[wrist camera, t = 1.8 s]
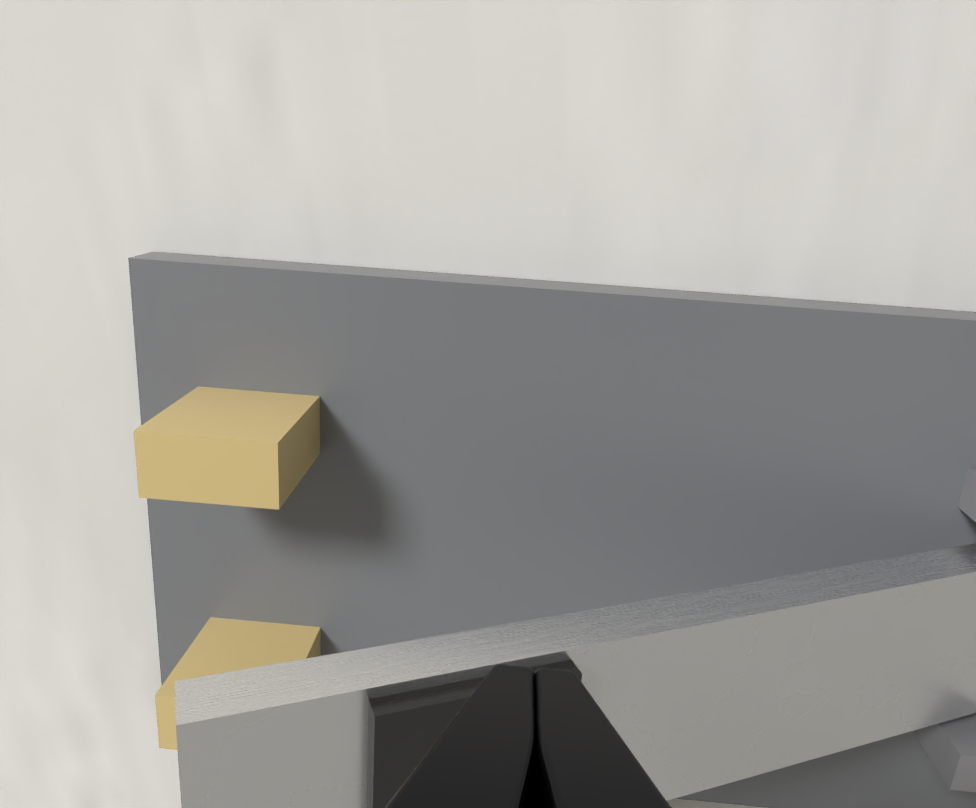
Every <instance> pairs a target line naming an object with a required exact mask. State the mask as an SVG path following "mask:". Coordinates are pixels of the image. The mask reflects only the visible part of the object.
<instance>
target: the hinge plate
mask: <svg viewBox="0 0 976 808" xmlns="http://www.w3.org/2000/svg"><path fill="white" fill-rule="evenodd" d="M128 259H129V272H130V285H131V297H132V310H133V323H134V336H135V349H136V362H137V374H138V387H139V400H140V413H141V426H140V427H138V428H137V429H136V430H134V441H135V454H136V466H137V478H138V491H139V498H147V503H148V516H149V528H150V541H151V554H152V567H153V580H154V593H155V605H156V618H157V631H158V644H159V657H160V670H161V682H162V686H161V688H160V689H159V691H158V692H157V693H156V695H155V699H156V712H157V724H158V736H159V748H163V749H173V750H178V749H177V735H176V712H175V681H179V680H185V679H191V678H196V677H202V676H208V675H214V674H220V673H225V672H231V671H237V670H243V669H249V668H254V667H260V666H266V665H272V664H277V663H283V662H289V661H295V660H301V659H306V658H312V657H318V656H324V655H330V654H335V653H341V652H347V651H353V650H359V649H364V648H370V647H376V646H382V645H388V644H393V643H399V642H405V641H411V640H417V639H422V638H428V637H434V636H440V635H446V634H451V633H457V632H463V631H469V630H474V629H480V628H486V627H492V626H498V625H503V624H509V623H515V622H521V621H527V620H532V619H538V618H544V617H550V616H556V615H561V614H567V613H573V612H579V611H585V610H590V609H596V608H602V607H608V606H614V605H619V604H625V603H631V602H637V601H643V600H648V599H654V598H660V597H666V596H671V595H677V594H683V593H689V592H695V591H700V590H706V589H712V588H718V587H724V586H729V585H735V584H741V583H747V582H753V581H758V580H764V579H770V578H776V577H782V576H787V575H793V574H799V573H805V572H811V571H816V570H822V569H828V568H834V567H840V566H845V565H851V564H857V563H863V562H868V561H874V560H880V559H886V558H892V557H897V556H903V555H909V554H915V553H921V552H926V551H932V550H938V549H944V548H950V547H955V546H961V545H967V544H973V543H976V312H966V311H952V310H939V309H925V308H911V307H898V306H884V305H871V304H857V303H843V302H830V301H816V300H802V299H789V298H775V297H762V296H748V295H734V294H721V293H707V292H693V291H680V290H666V289H652V288H639V287H625V286H612V285H598V284H584V283H571V282H557V281H543V280H530V279H516V278H502V277H489V276H475V275H462V274H448V273H434V272H421V271H407V270H393V269H380V268H366V267H353V266H339V265H325V264H312V263H298V262H284V261H271V260H257V259H243V258H230V257H216V256H203V255H189V254H175V253H162V252H150V253H146V254H142V255H138V256H135V257H131V258H128ZM678 799H688V800H698V801H708V802H718V803H728V804H738V805H748V806H758V807H768V808H976V713H974V714H970V715H967V716H963V717H960V718H956V719H953V720H949V721H946V722H942V723H938V724H935V725H931V726H928V727H924V728H921V729H917V730H914V731H910V732H907V733H903V734H900V735H896V736H893V737H889V738H886V739H882V740H879V741H875V742H872V743H868V744H865V745H861V746H858V747H854V748H851V749H847V750H844V751H840V752H837V753H833V754H830V755H826V756H823V757H819V758H816V759H812V760H808V761H805V762H801V763H798V764H794V765H791V766H787V767H784V768H780V769H777V770H773V771H770V772H766V773H763V774H759V775H756V776H752V777H749V778H745V779H742V780H738V781H735V782H731V783H728V784H724V785H721V786H717V787H714V788H710V789H707V790H703V791H700V792H696V793H693V794H689V795H685V796H682V797H678Z"/></svg>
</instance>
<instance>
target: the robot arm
mask: <svg viewBox="0 0 976 808" xmlns="http://www.w3.org/2000/svg"><path fill="white" fill-rule="evenodd" d="M385 808H671V807H670V805H669V804H668V802H667V801H666V800H665V798H664V797H663V795H662V794H661V793H660V791H659V790H658V788H657V787H656V786H655V784H654V783H653V781H652V780H651V779H650V777H649V776H648V774H647V773H646V772H645V770H644V769H643V767H642V766H641V765H640V763H639V762H638V760H637V759H636V758H635V756H634V755H633V753H632V752H631V751H630V749H629V748H628V746H627V745H626V744H625V742H624V741H623V739H622V738H621V737H620V735H619V734H618V732H617V731H616V730H615V728H614V727H613V725H612V724H611V723H610V721H609V720H608V718H607V717H606V716H605V714H604V713H603V711H602V710H601V709H600V707H599V706H598V704H597V703H596V702H595V700H594V699H593V697H592V696H591V695H590V693H589V692H588V690H587V689H586V688H585V686H584V685H583V683H582V682H581V681H580V679H579V678H578V676H577V675H576V674H575V673H573V672H572V671H568V670H558V669H547V668H539V669H537V670H536V671H535V674H534V672H533V670H532V669H531V668H530V667H526V666H516V665H506V664H497V665H495V666H494V667H493V668H492V669H491V670H490V672H489V673H488V674H487V675H486V677H485V678H484V679H483V681H482V682H481V683H480V685H479V686H478V687H477V688H476V690H475V691H474V692H473V694H472V695H471V696H470V698H469V699H468V700H467V701H466V703H465V704H464V705H463V707H462V708H461V709H460V711H459V712H458V713H457V714H456V716H455V717H454V718H453V720H452V721H451V722H450V724H449V725H448V726H447V727H446V729H445V730H444V731H443V733H442V734H441V735H440V737H439V738H438V739H437V740H436V742H435V743H434V744H433V746H432V747H431V748H430V749H429V751H428V752H427V753H426V755H425V756H424V757H423V759H422V760H421V761H420V762H419V764H418V765H417V766H416V768H415V769H414V770H413V772H412V773H411V774H410V775H409V777H408V778H407V779H406V781H405V782H404V783H403V785H402V786H401V787H400V788H399V790H398V791H397V792H396V794H395V795H394V796H393V798H392V799H391V800H390V801H389V803H388V804H387V805H386V807H385Z"/></svg>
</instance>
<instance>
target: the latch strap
mask: <svg viewBox="0 0 976 808" xmlns="http://www.w3.org/2000/svg"><path fill="white" fill-rule="evenodd" d="M497 664H506V665H516V666H526V667H530V668H531V669H532V670H533V672H534V674H535V671H536V670H537V669H539V668H547V669H558V670H568V671H572V672H573V673H575V674H576V675H577V676H578V678H579V679H580V681H581V682H582V683H583V685H584V686H585V688H586V689H587V690H588V692H589V693H590V695H591V696H592V697H593V699H594V700H595V702H596V703H597V704H598V706H599V707H600V709H601V710H602V711H603V713H604V714H605V716H606V717H607V718H608V720H609V721H610V723H611V724H612V725H613V727H614V728H615V730H616V731H617V732H618V734H619V735H620V737H621V738H622V739H623V741H624V742H625V744H626V745H627V746H628V748H629V749H630V751H631V752H632V753H633V755H634V756H635V758H636V759H637V760H638V762H639V763H640V765H641V766H642V767H643V769H644V770H645V772H646V773H647V774H648V776H649V777H650V779H651V780H652V781H653V783H654V784H655V786H656V787H657V788H658V790H659V791H660V793H661V794H662V795H663V797H664V798H665V800H666V801H668V800H671V799H675V798H678V797H682V796H685V795H689V794H693V793H696V792H700V791H703V790H707V789H710V788H714V787H717V786H721V785H724V784H728V783H731V782H735V781H738V780H742V779H745V778H749V777H752V776H756V775H759V774H763V773H766V772H770V771H773V770H777V769H780V768H784V767H787V766H791V765H794V764H798V763H801V762H805V761H808V760H812V759H816V758H819V757H823V756H826V755H830V754H833V753H837V752H840V751H844V750H847V749H851V748H854V747H858V746H861V745H865V744H868V743H872V742H875V741H879V740H882V739H886V738H889V737H893V736H896V735H900V734H903V733H907V732H910V731H914V730H917V729H921V728H924V727H928V726H931V725H935V724H938V723H942V722H946V721H949V720H953V719H956V718H960V717H963V716H967V715H970V714H974V713H976V543H973V544H967V545H961V546H955V547H950V548H944V549H938V550H932V551H926V552H921V553H915V554H909V555H903V556H897V557H892V558H886V559H880V560H874V561H868V562H863V563H857V564H851V565H845V566H840V567H834V568H828V569H822V570H816V571H811V572H805V573H799V574H793V575H787V576H782V577H776V578H770V579H764V580H758V581H753V582H747V583H741V584H735V585H729V586H724V587H718V588H712V589H706V590H700V591H695V592H689V593H683V594H677V595H671V596H666V597H660V598H654V599H648V600H643V601H637V602H631V603H625V604H619V605H614V606H608V607H602V608H596V609H590V610H585V611H579V612H573V613H567V614H561V615H556V616H550V617H544V618H538V619H532V620H527V621H521V622H515V623H509V624H503V625H498V626H492V627H486V628H480V629H474V630H469V631H463V632H457V633H451V634H446V635H440V636H434V637H428V638H422V639H417V640H411V641H405V642H399V643H393V644H388V645H382V646H376V647H370V648H364V649H359V650H353V651H347V652H341V653H335V654H330V655H324V656H318V657H312V658H306V659H301V660H295V661H289V662H283V663H277V664H272V665H266V666H260V667H254V668H249V669H243V670H237V671H231V672H225V673H220V674H214V675H208V676H202V677H196V678H191V679H185V680H179V681H175V712H176V735H177V749H178V763H179V777H180V790H181V804H182V808H385V807H386V805H387V804H388V803H389V801H390V800H391V799H392V798H393V796H394V795H395V794H396V792H397V791H398V790H399V788H400V787H401V786H402V785H403V783H404V782H405V781H406V779H407V778H408V777H409V775H410V774H411V773H412V772H413V770H414V769H415V768H416V766H417V765H418V764H419V762H420V761H421V760H422V759H423V757H424V756H425V755H426V753H427V752H428V751H429V749H430V748H431V747H432V746H433V744H434V743H435V742H436V740H437V739H438V738H439V737H440V735H441V734H442V733H443V731H444V730H445V729H446V727H447V726H448V725H449V724H450V722H451V721H452V720H453V718H454V717H455V716H456V714H457V713H458V712H459V711H460V709H461V708H462V707H463V705H464V704H465V703H466V701H467V700H468V699H469V698H470V696H471V695H472V694H473V692H474V691H475V690H476V688H477V687H478V686H479V685H480V683H481V682H482V681H483V679H484V678H485V677H486V675H487V674H488V673H489V672H490V670H491V669H492V668H493V667H494V666H495V665H497Z"/></svg>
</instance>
